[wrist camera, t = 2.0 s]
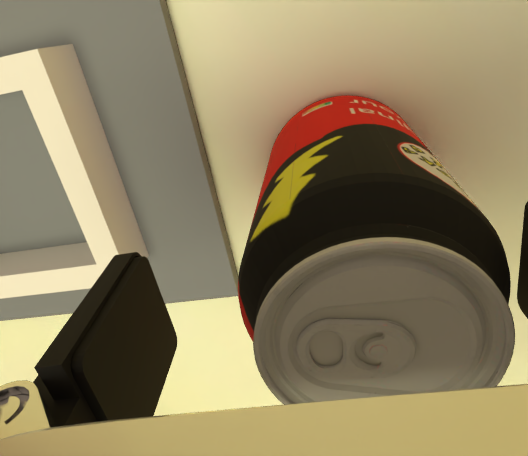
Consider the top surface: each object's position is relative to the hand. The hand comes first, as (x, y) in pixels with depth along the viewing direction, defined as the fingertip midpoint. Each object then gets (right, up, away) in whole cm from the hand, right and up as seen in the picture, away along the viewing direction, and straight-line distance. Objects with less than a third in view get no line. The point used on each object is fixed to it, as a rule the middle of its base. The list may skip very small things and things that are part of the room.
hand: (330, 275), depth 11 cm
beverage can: (+2, +4, +9) cm, 10 cm away
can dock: (-13, +4, +10) cm, 17 cm away
